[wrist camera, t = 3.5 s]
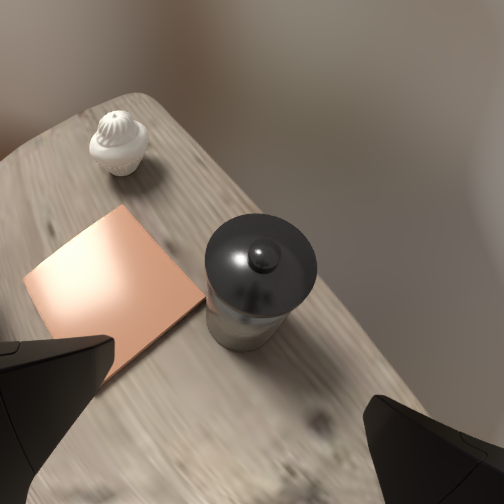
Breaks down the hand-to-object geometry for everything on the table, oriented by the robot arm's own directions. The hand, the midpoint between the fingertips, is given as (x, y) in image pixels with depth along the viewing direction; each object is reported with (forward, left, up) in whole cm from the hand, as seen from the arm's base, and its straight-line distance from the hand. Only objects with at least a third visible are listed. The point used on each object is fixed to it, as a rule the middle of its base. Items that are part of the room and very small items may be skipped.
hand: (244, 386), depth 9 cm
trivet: (-1, +13, -13) cm, 18 cm away
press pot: (+6, +4, -13) cm, 15 cm away
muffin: (+8, +24, -13) cm, 28 cm away
